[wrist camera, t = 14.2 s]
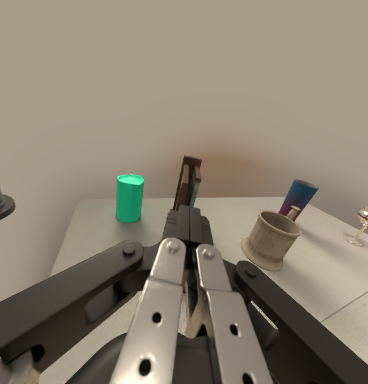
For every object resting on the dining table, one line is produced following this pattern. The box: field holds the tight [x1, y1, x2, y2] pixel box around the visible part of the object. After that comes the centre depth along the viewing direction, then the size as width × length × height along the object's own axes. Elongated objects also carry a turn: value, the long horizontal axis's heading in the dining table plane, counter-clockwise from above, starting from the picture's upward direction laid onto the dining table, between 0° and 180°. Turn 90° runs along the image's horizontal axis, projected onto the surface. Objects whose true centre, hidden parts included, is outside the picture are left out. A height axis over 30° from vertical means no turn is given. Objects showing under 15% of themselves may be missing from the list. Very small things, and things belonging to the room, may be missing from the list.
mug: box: [241, 206, 302, 271], centre depth 36 cm, size 14×10×12 cm
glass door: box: [175, 165, 189, 211], centre depth 32 cm, size 1×11×14 cm, turn 177°
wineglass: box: [343, 206, 368, 246], centre depth 50 cm, size 7×7×12 cm
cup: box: [278, 179, 319, 222], centre depth 52 cm, size 7×7×15 cm
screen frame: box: [170, 155, 202, 293], centre depth 31 cm, size 6×22×18 cm, turn 178°
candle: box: [116, 173, 144, 223], centre depth 37 cm, size 6×6×12 cm
